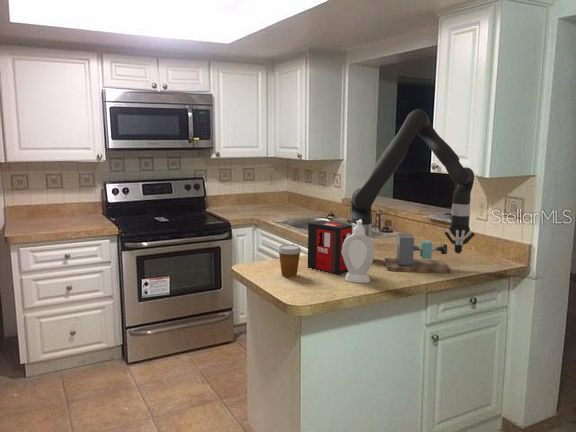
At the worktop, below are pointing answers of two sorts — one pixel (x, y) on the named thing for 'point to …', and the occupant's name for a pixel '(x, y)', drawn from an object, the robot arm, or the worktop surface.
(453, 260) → the worktop surface
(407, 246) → the housing
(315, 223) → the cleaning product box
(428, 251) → the block
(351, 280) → the soap bottle
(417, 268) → the base board
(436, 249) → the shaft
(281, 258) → the disposable coffee cup
